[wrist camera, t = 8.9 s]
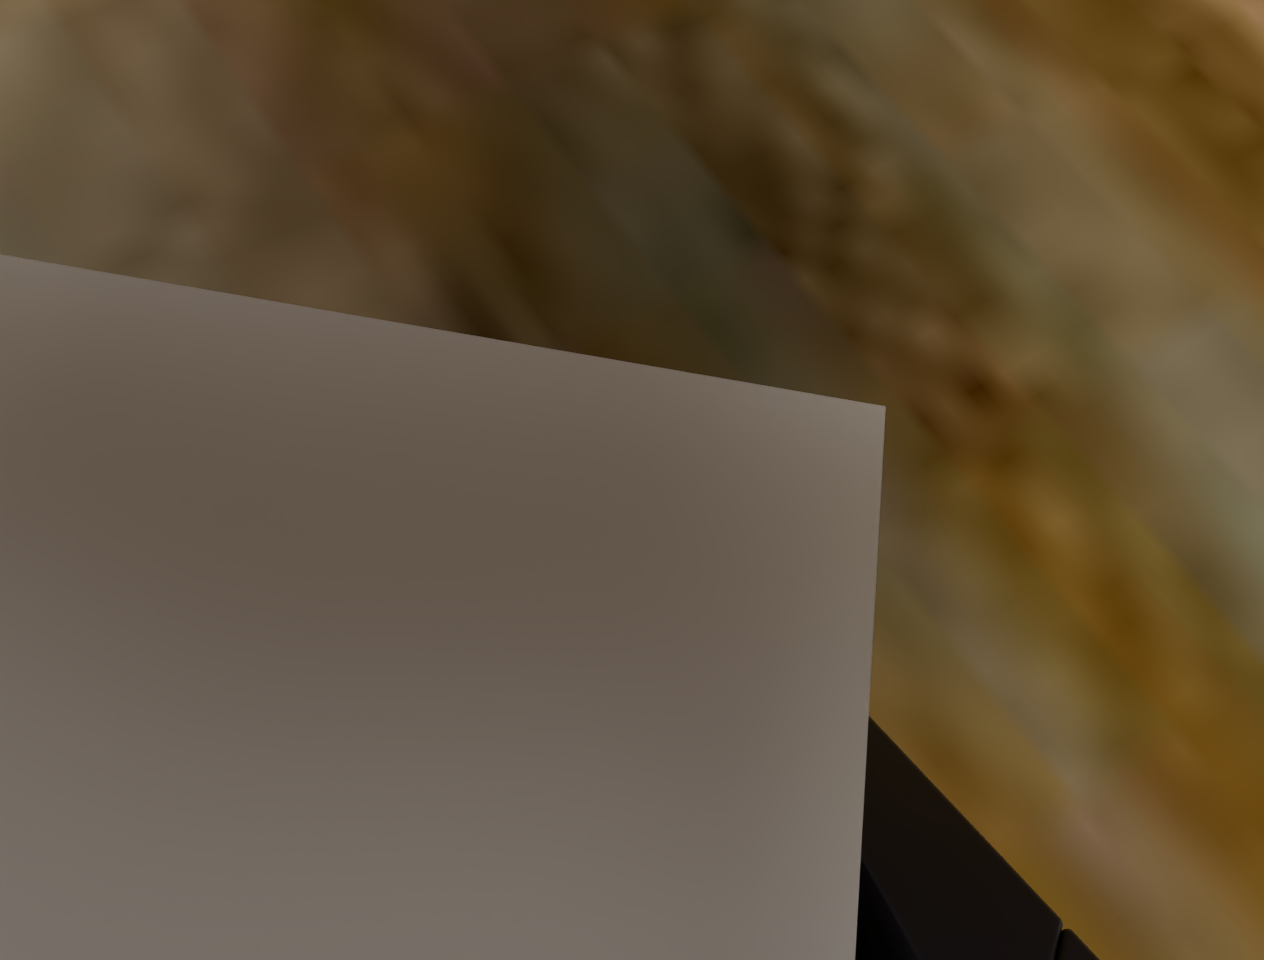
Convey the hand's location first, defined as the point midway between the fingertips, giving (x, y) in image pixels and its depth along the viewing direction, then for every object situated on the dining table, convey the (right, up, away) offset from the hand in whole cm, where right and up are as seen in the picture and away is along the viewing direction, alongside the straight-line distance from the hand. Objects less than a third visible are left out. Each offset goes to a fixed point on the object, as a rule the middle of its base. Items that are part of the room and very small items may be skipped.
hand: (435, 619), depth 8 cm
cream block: (-1, -3, +6) cm, 7 cm away
